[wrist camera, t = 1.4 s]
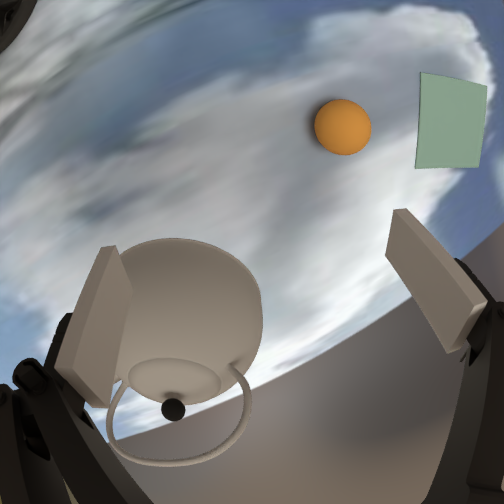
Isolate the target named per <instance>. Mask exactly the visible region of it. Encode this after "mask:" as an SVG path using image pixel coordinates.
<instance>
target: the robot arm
mask: <svg viewBox="0 0 504 504" xmlns="http://www.w3.org/2000/svg"><path fill="white" fill-rule="evenodd" d="M36 1H37V0H0V52H2V51H3V50H4V49H5V48H6V47H7V46H8V45H9V44H10V43H11V42H12V41H13V40H14V38H15V37H16V36H17V35H18V33H19V32H20V30H21V29H22V28H23V26H24V25H25V23H26V21H27V20H28V18H29V16H30V14H31V12H32V10H33V8H34V6H35V3H36ZM385 256H386V258H387V259H388V260H389V262H390V263H391V265H392V266H393V268H394V269H395V271H396V272H397V273H398V275H399V276H400V278H401V279H402V281H403V282H404V284H405V285H406V287H407V288H408V290H409V291H410V293H411V295H412V296H413V298H414V299H415V301H416V302H417V304H418V306H419V307H420V309H421V310H422V312H423V314H424V315H425V317H426V318H427V320H428V322H429V323H430V325H431V327H432V328H433V330H434V332H435V333H436V335H437V337H438V339H439V340H440V342H441V344H442V346H443V347H444V349H445V350H446V353H447V354H448V353H451V352H453V351H455V350H458V349H460V348H461V347H462V345H463V344H464V342H465V340H466V339H467V341H468V342H469V344H470V345H469V346H468V348H467V350H466V351H465V353H464V354H463V356H462V357H461V359H460V362H462V361H463V360H464V358H465V357H466V359H465V366H464V372H463V377H462V383H461V388H460V393H459V397H458V401H457V406H456V410H455V414H454V418H453V422H452V426H451V429H450V433H449V436H448V440H447V442H446V446H445V449H444V452H443V455H442V458H441V461H440V464H439V466H438V469H437V472H436V474H435V477H434V480H433V482H432V485H431V487H430V490H429V492H428V494H427V496H426V498H425V500H424V501H423V502H422V503H421V504H504V491H502V490H501V484H502V480H503V476H504V302H496V301H495V300H494V298H493V297H492V296H491V294H490V293H489V292H488V291H487V289H486V288H485V287H484V286H483V284H482V283H481V282H480V281H479V280H478V279H477V277H476V276H475V275H474V274H472V271H471V270H470V269H469V268H468V266H467V265H466V264H465V263H463V262H462V261H460V260H459V259H457V258H452V256H451V255H450V254H449V253H448V252H447V251H446V250H445V249H444V247H443V246H442V245H441V244H440V243H439V242H438V241H437V240H436V239H435V238H434V236H433V235H432V234H431V233H430V232H429V231H428V230H427V229H426V228H425V227H424V226H423V225H422V224H421V223H420V222H419V221H418V220H417V219H416V218H415V217H414V216H413V215H412V214H411V213H410V212H409V211H408V210H407V209H406V208H405V209H395V210H393V216H392V222H391V227H390V233H389V238H388V243H387V248H386V253H385ZM132 293H133V288H132V285H131V283H130V281H129V278H128V276H127V273H126V271H125V268H124V266H123V263H122V261H121V258H120V256H119V253H118V251H117V248H116V245H114V246H107V247H101V249H100V251H99V253H98V255H97V257H96V260H95V262H94V264H93V266H92V268H91V271H90V273H89V275H88V277H87V280H86V282H85V284H84V287H83V289H82V292H81V294H80V296H79V299H78V301H77V304H76V306H75V309H74V312H73V313H66V314H65V316H64V317H63V318H62V320H61V321H60V322H59V324H58V327H57V329H56V332H55V333H56V335H54V337H53V340H52V341H53V343H51V346H50V348H49V351H48V354H47V357H46V360H45V363H44V366H42V365H41V364H40V363H39V362H38V361H37V360H36V359H34V358H27V359H25V360H22V361H21V362H20V363H19V364H18V365H17V366H16V368H15V370H14V372H13V376H12V379H13V383H14V384H15V385H16V386H17V387H18V388H19V389H17V390H14V391H13V390H12V389H11V388H10V387H9V386H8V385H6V384H0V496H1V500H2V504H72V503H71V501H70V498H69V495H68V492H67V489H66V486H65V483H64V480H65V482H66V484H67V485H68V487H69V489H70V490H71V492H72V494H73V495H74V497H75V499H76V500H77V502H78V503H79V504H154V503H153V502H152V501H151V500H150V499H149V498H148V496H147V495H146V494H145V493H144V492H143V491H142V489H141V488H140V487H139V486H138V485H137V483H136V482H135V481H134V479H133V478H132V477H131V476H130V474H129V473H128V472H127V471H126V469H125V468H124V467H123V465H122V464H121V462H120V461H119V460H118V459H117V457H116V456H115V454H114V453H113V451H112V450H111V448H110V447H109V446H108V444H107V443H106V441H105V440H104V438H103V437H102V435H101V434H100V432H99V430H98V429H97V427H96V426H95V424H94V422H93V421H92V419H91V418H90V416H89V414H88V413H87V411H86V410H85V409H84V404H85V401H86V402H87V403H88V404H89V405H90V406H91V407H92V408H109V407H110V400H111V394H112V388H113V382H114V376H115V371H116V365H117V360H118V355H119V350H120V345H121V340H122V336H123V331H124V327H125V322H126V318H127V314H128V310H129V305H130V301H131V297H132ZM62 476H63V477H62ZM63 478H64V480H63Z"/></svg>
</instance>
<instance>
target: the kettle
mask: <svg viewBox="0 0 504 504" xmlns="http://www.w3.org/2000/svg"><path fill="white" fill-rule="evenodd" d="M119 256H120V258H121V261H122V263H123V266H124V268H125V271H126V273H127V276H128V278H129V281H130V283H131V285H132V288H133V293H132V297H131V301H130V305H129V310H128V314H127V318H126V322H125V327H124V331H123V336H122V340H121V345H120V350H119V355H118V360H117V365H116V371H115V376H114V382H113V384H115V383H116V382H118V381H120V380H122V384H121V386H120V387H119V389H118V390H117V392H116V394H115V396H114V397H113V399H112V401H111V404H110V407H109V409H108V412H107V418H106V431H107V436H108V439H109V441H110V444H111V445H112V447H113V448H114V449H115V450H116V451H117V452H118V453H119V454H120V455H122V456H123V457H125V458H126V459H129V460H130V461H133V462H136V463H140V464H144V465H150V466H165V467H167V466H168V467H172V466H185V465H192V464H197V463H201V462H204V461H207V460H209V459H212V458H214V457H216V456H218V455H219V454H221V453H222V452H224V451H225V450H227V449H228V448H229V447H230V446H232V445H233V444H234V443H235V442H236V441H237V440H238V438H239V437H240V436H241V434H242V433H243V431H244V429H245V428H246V426H247V423H248V421H249V418H250V414H251V406H252V396H251V390H250V387H249V384H248V382H247V380H246V379H245V377H244V376H243V375H244V374H245V373H246V372H247V370H248V369H249V367H250V366H251V364H252V362H253V361H254V358H255V356H256V354H257V352H258V349H259V346H260V342H261V337H262V329H263V315H262V305H261V295H260V290H259V287H258V284H257V282H256V280H255V278H254V277H253V275H252V274H251V272H250V271H249V270H248V269H247V267H246V266H245V265H244V264H243V263H241V262H240V261H239V260H238V259H237V258H235V257H234V256H232V255H231V254H229V253H228V252H226V251H224V250H222V249H220V248H218V247H215V246H213V245H210V244H207V243H204V242H200V241H195V240H190V239H180V238H166V239H157V240H151V241H147V242H144V243H141V244H138V245H136V246H133V247H131V248H129V249H128V250H126V251H124V252H123V253H121V254H120V255H119ZM237 382H239V384H240V385H241V387H242V390H243V395H244V408H243V413H242V417H241V419H240V421H239V424H238V425H237V427H236V429H235V430H234V431H233V433H232V434H231V435H230V436H229V437H228V438H227V439H226V440H225V441H224V442H222V443H221V444H220V445H218V446H217V447H215V448H214V449H212V450H210V451H208V452H205V453H203V454H200V455H197V456H193V457H188V458H181V459H150V458H144V457H139V456H136V455H132V454H130V453H129V452H126V451H125V450H124V449H122V448H121V447H120V446H119V444H118V443H117V442H116V440H115V437H114V434H113V427H112V423H113V416H114V412H115V409H116V407H117V404H118V402H119V400H120V398H121V397H122V395H123V393H124V392H125V390H126V388H127V387H131V388H132V389H133V390H135V391H136V392H138V393H139V394H141V395H142V396H144V397H146V398H148V399H151V400H154V401H156V402H160V403H162V407H161V411H162V414H163V416H164V417H165V418H166V419H168V420H170V421H178V420H180V419H182V418H183V417H184V414H185V406H184V405H192V404H197V403H202V402H205V401H207V400H210V399H212V398H214V397H216V396H218V395H220V394H222V393H224V392H225V391H227V390H228V389H229V388H231V387H232V386H233V385H235V384H236V383H237Z"/></svg>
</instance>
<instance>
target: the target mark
mask: <svg viewBox="0 0 504 504" xmlns="http://www.w3.org/2000/svg"><path fill="white" fill-rule="evenodd" d="M486 100H487V86H485V85H481V84H477V83H473V82H469V81H464V80H460V79H455V78H450V77H444V76H439V75H433V74H427V73H420V108H419V127H418V141H417V152H416V162H415V169H423V168H461V167H479V161H480V155H481V148H482V141H483V133H484V124H485V114H486Z"/></svg>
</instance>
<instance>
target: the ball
mask: <svg viewBox="0 0 504 504" xmlns="http://www.w3.org/2000/svg"><path fill="white" fill-rule="evenodd" d="M314 127H315V133H316V136H317V138H318V140H319V142H320V143H321V144H322V145H323V146H324V147H325V148H326V149H327V150H329V151H330V152H332V153H335V154H338V155H351V154H354V153H357V152H358V151H360V150H361V149H363V148H364V147H365V146H366V144H367V143H368V141H369V139H370V136H371V122H370V119H369V117H368V115H367V113H366V112H365V111H364V109H363V108H362V107H360V106H359V105H358V104H356V103H354V102H352V101H349V100H342V99H340V100H334V101H331V102H329V103H327V104H325V105H324V106H323V107H322V108H321V109H320V110H319V112H318V113H317V116H316V118H315V126H314Z"/></svg>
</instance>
